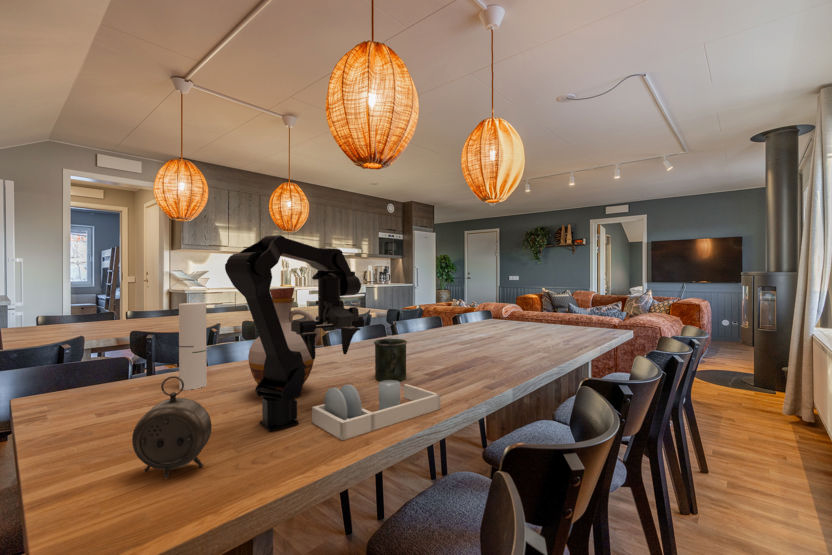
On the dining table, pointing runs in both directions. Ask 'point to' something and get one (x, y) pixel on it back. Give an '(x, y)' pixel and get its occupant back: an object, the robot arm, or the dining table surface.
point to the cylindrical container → (192, 345)
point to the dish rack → (352, 420)
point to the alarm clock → (172, 433)
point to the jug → (294, 341)
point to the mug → (390, 359)
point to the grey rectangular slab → (389, 394)
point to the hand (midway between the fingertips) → (329, 356)
